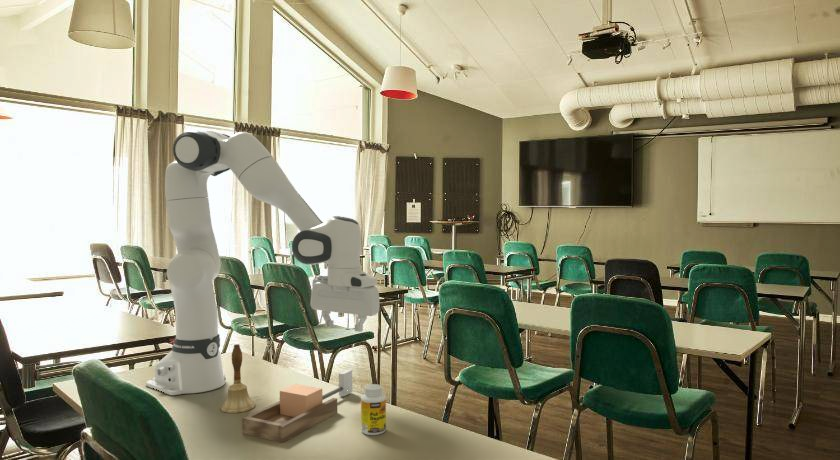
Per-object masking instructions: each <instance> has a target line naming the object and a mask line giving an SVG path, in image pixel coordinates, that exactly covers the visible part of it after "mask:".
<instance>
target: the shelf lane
mask: <svg viewBox="0 0 840 460" xmlns="http://www.w3.org/2000/svg"><path fill="white" fill-rule="evenodd" d="M337 413H338V398H335V397H333V398H330V399H328V400H326V401H323V403H322V404H320V405H318V406H316V407H314V408H312V409H310V410H308V411H306V412H304V413H302V414H300V415H299V416H297V417H292V416H287V415H282V414H280V400H278V401H276V402H274V403H271V404H270V405H268V406H265V407H264V408H261V409H259V410H257V411H253V412H252V413H250V414H248V415H247V414H246V416H244V417H242V418H241V422H242V426H241V427H242V428H241V429H242V432H241V433H242V434H244V435H248V436H252V437H253V436H254V437H257V438H260V439H261V438H262V439H265V440H270V441H274V442H279V443H281V444H282V443H286V441H289V440H291V439H292V438H294V437H296V436H298V435H300V434H301V433H304V431H306V430H307V431H308V430H309V429H311V428H312V427H314V426H316V425H318V424H320V423H322V422H323V421H325V420H327V419H328V418H330V417H332V416H334V415H335V414H337Z"/></svg>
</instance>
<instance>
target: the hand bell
mask: <svg viewBox="0 0 840 460" xmlns="http://www.w3.org/2000/svg"><path fill="white" fill-rule="evenodd" d="M240 346H241V345H240V344H237V343H236V344H234V345H233V348H232V352H231V364H232V367H233V383H232V384H231V385H230V386H228V388H227V389H228V390H227V396H226V400H225V402H224V403H223V404H222V405H221V407H220V411H221V412H223V413H228V414H238V413H244V412H247V411H250V410H253V409H254V408H255V407H256V403H255V402H254V401H253V400H252V399H251V397H250V395H249V393H248V387H247V385H246V384H245V383H242V378H241V376H242V375H241V368H242V363H243V352H242V348H241V347H240Z"/></svg>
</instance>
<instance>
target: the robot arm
mask: <svg viewBox="0 0 840 460" xmlns="http://www.w3.org/2000/svg"><path fill="white" fill-rule="evenodd" d="M172 155H173V158H174V159H175V160H173V161H172V162H170V163H169V164H168V165H167V167H166V168H165V175H164V192H165V203H166V204H165V205H166V212H167V213H166V214H167V221H168V222H167V223H168V229H169V231H170V233H171V235H172V238H173V241H174V244H175V247H176V251H177V254H175V255H174V256H173V258H171V260H170V261H169V262H168V265H167V268H166V276H167V279H168V282H169V284H170V290H171V291H170V292H171V294H172V300H173V305H174V311H175V337H174V338H171V339H169V341H171V342H169V344H170V345H172V347H171V350H170V351H169V352H168V353H167V354H166V355H165V356H164V357H162V359H160V360H159V361H158V362H157V363H156V364H155V368H154V370H155V371H154V377H152V378H151V379H149V380H148V379H147V381H146V382H145V386H146V387H148V388H151V389H153V388H154V390H156V389H157V390H156V391H158V390H159V391H158V392H161V391H162V393H163V392H164V393H163V394H166V395H169V396H177V395H182V394H183V395H185V394H197V393H198V394H199V393H205V392H209V391H214V390H216V389H219V388H221V387H223V386H224V385H225V384H226V381H225V379H226V374H225V373H224V370H223V364H222V363H223V362H222V354H221V351H220V346H221V338H220V333H219V332H218V331H219V325H218V324H219V322H218V321H219V320H218V319H219V318H218V305H217V304H216V298H215V293H214V286H213V281H214V280H215V279H216V278H217V277H218V276H219V274H220V272H221V266H222V263H221V258H220V254H219V249H218V245H217V241H216V237H215V234H214V229H213V226H212V225H213V224H212V217H211V210H210V209H211V208H210V201H209V193H208V185H207V183H208V179H209V177H210V176H213V177H217V176H218V175H221V174H223V173H225V172H227V171H232V173H233V174H234V175H235V177H236V178H237V180H238V181H239V183H240V184H241V185H242V187H243V188H244V189H245V190H246V191H247V192H248V194H249V195H251V196H252V197H253V198H254V199H255V200H257V201H260V202H262V203H266V204H269V205H270V206H273V207H275V208H277V209H279V210H280V211H282V212H283V213H284V214H285V215H286V216H287V217H288V218H289V219H290V220H291V221H292V222H293V224H294V225H295V227H296V228H297V229H298V230H299V232H298V233H296V235H294V237H293V239H292V242H291V252H292V255H293V256H294V258H295V259H296V260H297V261H298V262H299V263H301V264H303V265H310V266H312V265H318V264H324V263H326V264H327V275H326V276H325V275H317V276H315V277H314V278H313V279H312V281H311V282H312V283H311V285H312V289H311V294H310V308H311V309H312V310H316V311H321V316H322V318H323V320H324V323H325V328H328V329H330V328H333V327H334V326H335V324H334V321H335V320H333V319H332V318H331V317H330V314H331V312H332V313H340V314H341V313H342V314H349V315H357V319H358V322H357V323H356V324H354V332H358V333H361V332H363V329H364V324H365V322H366V320H367V319H368V317H372V316H376V315H378V313H379V312H380V304H381V303H380V292H379V289H378V288H377V287H376V286H377V285H378V283H379V282H378V281H379V280H378V277H376V276H373V275H371V274H369V273H367V272H365V271H364V270H362V264H361V252H362V233H361V226H360V224H359V222H358V221H357V220H355V219H354V218H350V217H346V216H340V215H336V216H335V215H334V216H331V217H330V218H328V220H326V221H324V222H323V220H321V219H320V218H319V216H318V215H317V214H316V213H315V212H314V210H313V209H312V208H311V206H309V204H308V203H307V201H306V200H305V199H304V198H303V197H302V195H300V193H299V192H298V191H297V190H296V188H295V186H294V185H293V184H292V182H291V180H289V178H288V177H287V175H286V174H285V172H284V171H283V169H282V168H281V166H280V165H279V163H278V162H277V161H276V159H275V158H274V157H273V155H272V154H271V153H270V151H269V150H268V149H267V148H266V147H265V145H263V143H261V142H260V140H259V139H257V138H256V136H254V135H253V134H252V133H250V132H247V131H239V132H236V133H233V134H232V135H231V136H230V135H228V134H225V133H220V132H216V131H212V130H207V131H206V130H205V131H204V130H202V131H201V130H195V129H194V130H192V129H191V130H188V131H187V130H186V131H184V132H182V133H181V134H179V135H178V136H177V137H176V138H175V139H174V142H173V145H172Z"/></svg>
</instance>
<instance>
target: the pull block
mask: <svg viewBox="0 0 840 460" xmlns="http://www.w3.org/2000/svg"><path fill="white" fill-rule="evenodd" d="M347 390H348V391H347ZM352 393H353V369H345V370H343V371H341V372H339V373H338V387H337V388H335V389H333V390H331V391H329V392H327V393H325V394H323V388H321V387H317V386H316V387H315V386H312V385H311V386H310V385H305V384H298V383H295V384H293V385H290V386H287V387H286V388H283V389H281V390H279V401H280V414H282V415H287V416H292V417H297V416H299V415H300V414H302V413H304V412H306V411H308V410H310V409H312V408H314V407H316V406H318V405H320V404H322V403H324V401H323V400H326V399H327V398H330V397H333V395H336V394H338V396H339V397H346V396H347V395H350V394H352Z"/></svg>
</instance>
